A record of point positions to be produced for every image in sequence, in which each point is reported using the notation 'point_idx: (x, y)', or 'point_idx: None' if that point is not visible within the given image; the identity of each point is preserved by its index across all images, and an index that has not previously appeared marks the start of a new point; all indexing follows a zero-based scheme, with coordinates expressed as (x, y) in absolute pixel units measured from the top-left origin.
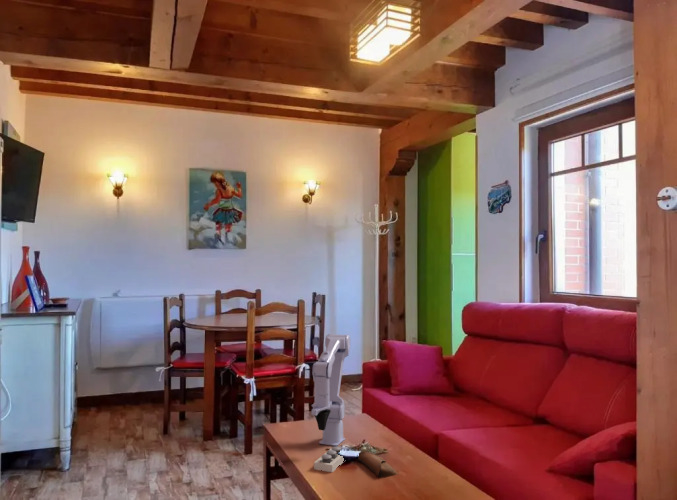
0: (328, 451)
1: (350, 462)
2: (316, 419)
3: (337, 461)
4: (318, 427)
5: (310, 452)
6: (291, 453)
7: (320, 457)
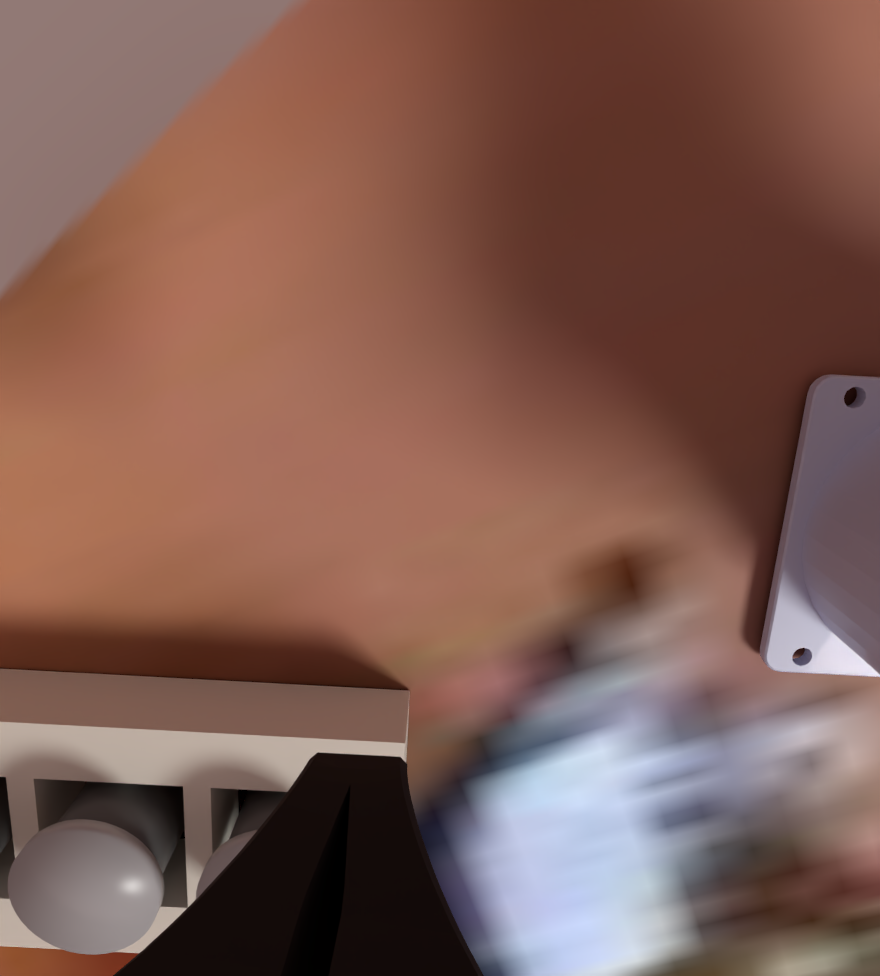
0: (82, 851)
1: None
2: (131, 969)
3: (24, 936)
4: (293, 785)
5: (417, 392)
6: (266, 113)
7: (9, 727)
